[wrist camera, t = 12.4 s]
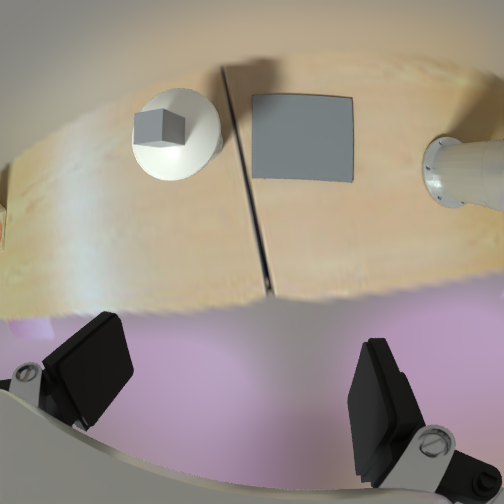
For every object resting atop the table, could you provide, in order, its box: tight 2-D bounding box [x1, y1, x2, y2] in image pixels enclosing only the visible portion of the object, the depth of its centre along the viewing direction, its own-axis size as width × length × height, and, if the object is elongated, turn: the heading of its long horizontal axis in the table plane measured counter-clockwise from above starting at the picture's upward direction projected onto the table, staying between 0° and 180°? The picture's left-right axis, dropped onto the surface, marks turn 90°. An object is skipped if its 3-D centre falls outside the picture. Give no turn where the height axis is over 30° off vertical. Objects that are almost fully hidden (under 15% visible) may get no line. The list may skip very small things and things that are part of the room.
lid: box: [132, 88, 221, 180], centre depth 28 cm, size 12×12×7 cm
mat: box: [252, 95, 353, 183], centre depth 40 cm, size 16×14×1 cm
